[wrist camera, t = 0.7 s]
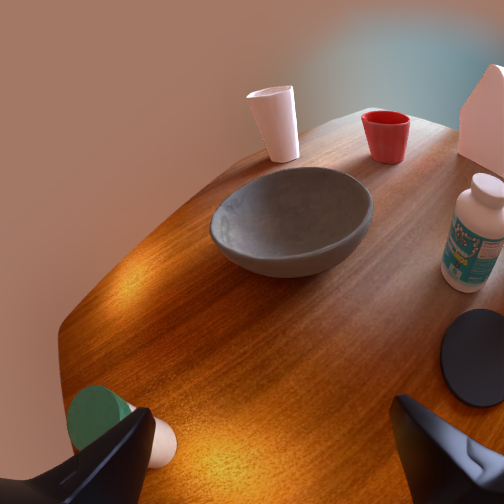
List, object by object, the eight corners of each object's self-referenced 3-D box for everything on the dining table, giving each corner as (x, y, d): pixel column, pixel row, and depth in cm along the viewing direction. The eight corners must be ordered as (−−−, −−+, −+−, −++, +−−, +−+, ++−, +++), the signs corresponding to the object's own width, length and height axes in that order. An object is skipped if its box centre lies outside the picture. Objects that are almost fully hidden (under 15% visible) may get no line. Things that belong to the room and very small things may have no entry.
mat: (529, 389, 13) (531, 387, 12) (447, 421, 16) (449, 419, 16) (504, 304, 21) (506, 301, 21) (430, 319, 25) (431, 316, 24)
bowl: (240, 330, 31) (216, 288, 26) (219, 230, 47) (203, 192, 42) (398, 270, 31) (406, 220, 26) (331, 193, 47) (326, 153, 42)
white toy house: (458, 153, 48) (457, 55, 31) (479, 142, 50) (479, 59, 34) (520, 188, 33) (533, 79, 17) (532, 172, 35) (541, 81, 19)
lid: (124, 471, 14) (109, 468, 13) (73, 444, 16) (59, 438, 14) (143, 402, 19) (129, 394, 17) (92, 386, 20) (79, 378, 19)
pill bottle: (433, 255, 31) (450, 165, 22) (474, 251, 29) (497, 167, 20) (447, 299, 26) (480, 205, 17) (492, 292, 23) (530, 205, 15)
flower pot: (384, 172, 48) (382, 127, 42) (356, 153, 57) (352, 114, 50) (419, 161, 48) (420, 120, 42) (390, 144, 57) (388, 108, 50)
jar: (170, 476, 19) (111, 465, 13) (124, 458, 21) (65, 438, 15) (182, 424, 24) (130, 398, 18) (136, 412, 25) (83, 382, 19)
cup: (295, 145, 68) (281, 84, 57) (315, 155, 60) (302, 86, 49) (257, 158, 66) (239, 96, 55) (273, 171, 59) (254, 99, 48)
